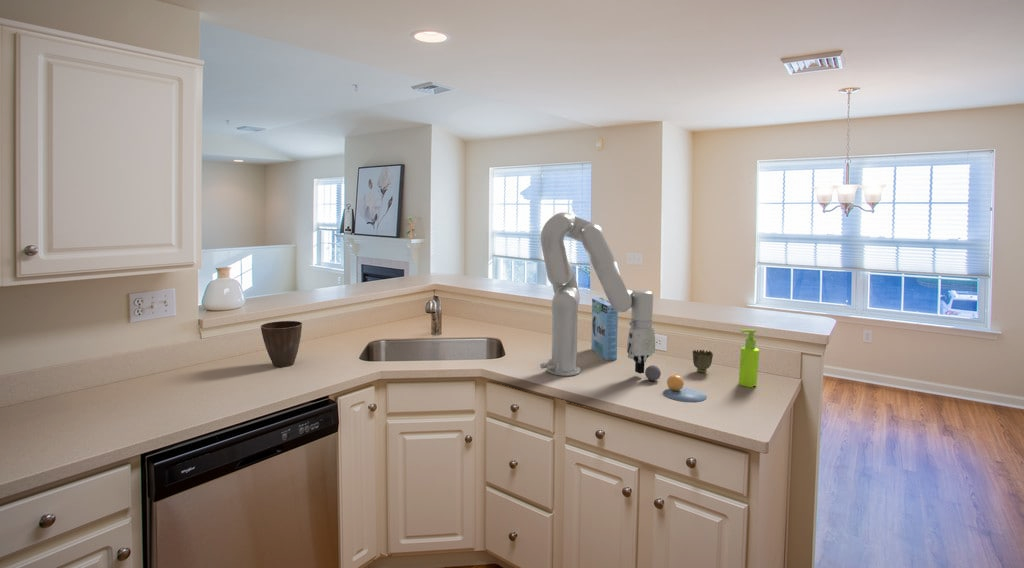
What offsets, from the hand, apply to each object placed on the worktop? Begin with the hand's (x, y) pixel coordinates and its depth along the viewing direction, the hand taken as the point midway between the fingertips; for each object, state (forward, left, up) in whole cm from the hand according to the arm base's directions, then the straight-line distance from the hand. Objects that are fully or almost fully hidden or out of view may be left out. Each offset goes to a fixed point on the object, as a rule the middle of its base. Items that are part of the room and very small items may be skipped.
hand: (639, 372), depth 208 cm
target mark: (0, -23, -2) cm, 23 cm away
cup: (+25, -6, -2) cm, 26 cm away
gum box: (+7, +31, -2) cm, 32 cm away
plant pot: (-116, +74, -2) cm, 137 cm away
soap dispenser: (+28, -24, -2) cm, 37 cm away
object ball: (0, -18, +1) cm, 18 cm away
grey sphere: (+1, -6, +1) cm, 6 cm away
